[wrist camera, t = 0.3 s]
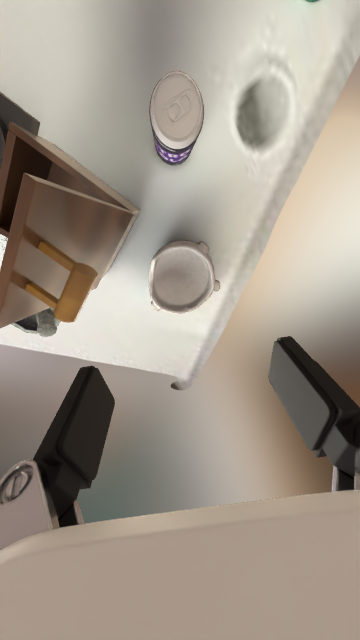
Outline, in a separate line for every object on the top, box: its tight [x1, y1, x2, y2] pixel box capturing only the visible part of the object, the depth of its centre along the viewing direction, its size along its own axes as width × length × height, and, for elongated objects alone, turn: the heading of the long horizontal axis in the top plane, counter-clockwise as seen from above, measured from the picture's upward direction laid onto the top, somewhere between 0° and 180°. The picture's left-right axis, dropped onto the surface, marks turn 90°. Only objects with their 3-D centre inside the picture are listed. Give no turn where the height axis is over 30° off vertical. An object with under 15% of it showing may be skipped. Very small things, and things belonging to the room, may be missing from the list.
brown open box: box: [0, 122, 140, 277], centre depth 29 cm, size 15×13×9 cm
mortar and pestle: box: [12, 307, 60, 337], centre depth 36 cm, size 11×9×12 cm
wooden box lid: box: [0, 173, 134, 328], centre depth 21 cm, size 15×13×5 cm
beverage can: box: [149, 71, 204, 165], centre depth 24 cm, size 6×6×12 cm
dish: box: [149, 240, 220, 314], centre depth 37 cm, size 14×14×5 cm
